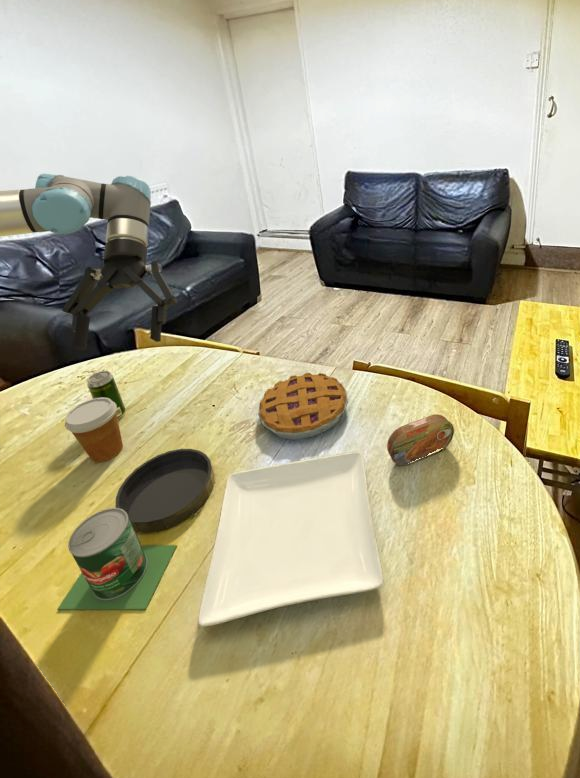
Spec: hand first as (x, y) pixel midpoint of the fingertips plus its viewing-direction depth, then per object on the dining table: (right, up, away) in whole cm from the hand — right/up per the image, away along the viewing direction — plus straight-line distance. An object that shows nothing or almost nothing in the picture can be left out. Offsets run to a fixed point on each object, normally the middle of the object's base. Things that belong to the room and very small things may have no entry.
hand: (118, 344), depth 79 cm
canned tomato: (+7, -37, -11) cm, 39 cm away
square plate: (+36, -33, -5) cm, 49 cm away
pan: (+8, -30, +4) cm, 32 cm away
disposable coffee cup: (-12, -27, +15) cm, 33 cm away
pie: (+31, -20, +24) cm, 44 cm away
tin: (+59, -25, +10) cm, 65 cm away
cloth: (+7, -37, -11) cm, 39 cm away
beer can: (-18, -22, +26) cm, 38 cm away
